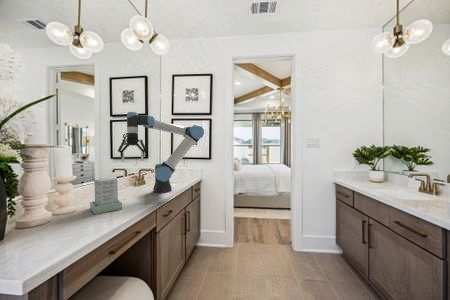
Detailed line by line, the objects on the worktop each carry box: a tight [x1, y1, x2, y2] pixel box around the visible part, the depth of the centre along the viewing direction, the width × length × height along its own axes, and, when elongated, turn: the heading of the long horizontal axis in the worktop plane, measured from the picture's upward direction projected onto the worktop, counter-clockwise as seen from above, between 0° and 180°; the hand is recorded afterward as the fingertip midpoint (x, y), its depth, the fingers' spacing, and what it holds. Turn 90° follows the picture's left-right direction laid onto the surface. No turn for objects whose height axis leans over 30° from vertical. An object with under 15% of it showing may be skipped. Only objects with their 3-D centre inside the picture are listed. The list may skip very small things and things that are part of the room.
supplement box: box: [93, 177, 119, 206], centre depth 120 cm, size 10×9×17 cm
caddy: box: [89, 199, 123, 215], centre depth 119 cm, size 14×15×4 cm
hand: (132, 161), depth 150 cm, fingers open, 13 cm apart
